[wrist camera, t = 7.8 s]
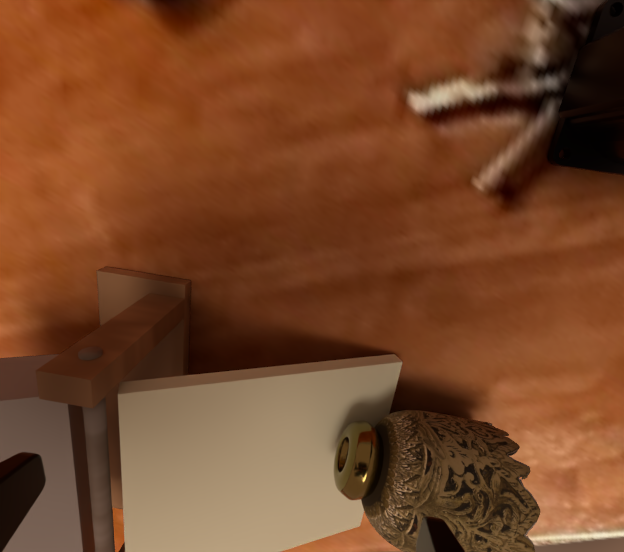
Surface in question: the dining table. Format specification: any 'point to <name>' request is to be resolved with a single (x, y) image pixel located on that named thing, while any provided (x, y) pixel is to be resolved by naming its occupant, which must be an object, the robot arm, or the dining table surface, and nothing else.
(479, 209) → the dining table surface
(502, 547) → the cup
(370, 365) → the trapdoor
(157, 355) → the post frame
